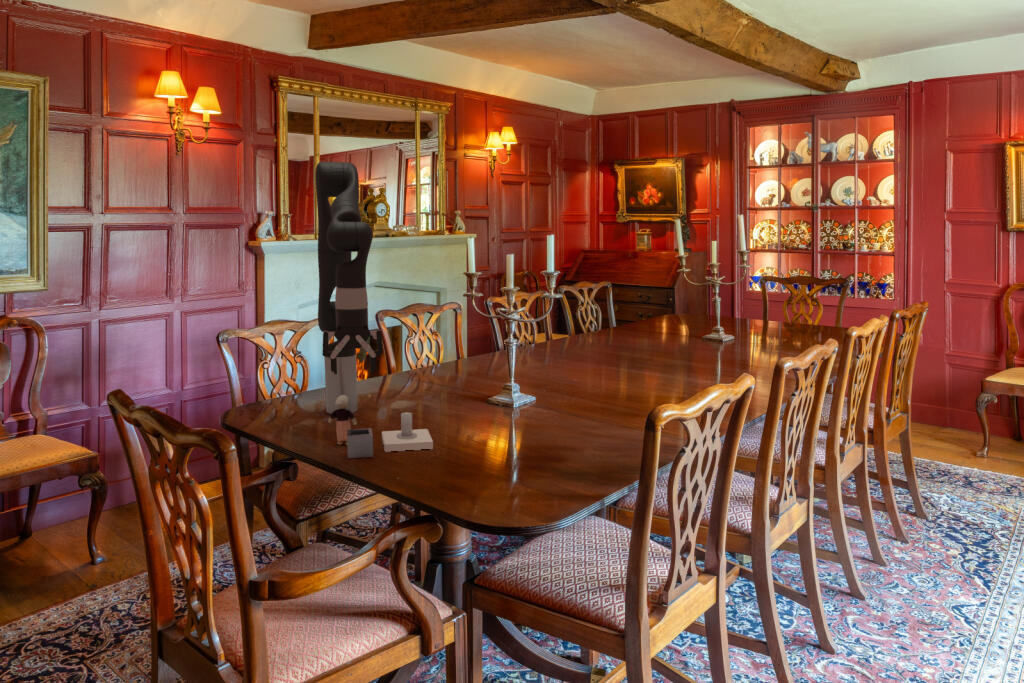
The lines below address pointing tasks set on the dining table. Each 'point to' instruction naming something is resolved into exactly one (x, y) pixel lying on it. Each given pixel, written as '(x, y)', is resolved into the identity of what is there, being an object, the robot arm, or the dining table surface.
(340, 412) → the grandmother figurine
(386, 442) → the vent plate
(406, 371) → the dining table surface
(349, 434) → the collar
